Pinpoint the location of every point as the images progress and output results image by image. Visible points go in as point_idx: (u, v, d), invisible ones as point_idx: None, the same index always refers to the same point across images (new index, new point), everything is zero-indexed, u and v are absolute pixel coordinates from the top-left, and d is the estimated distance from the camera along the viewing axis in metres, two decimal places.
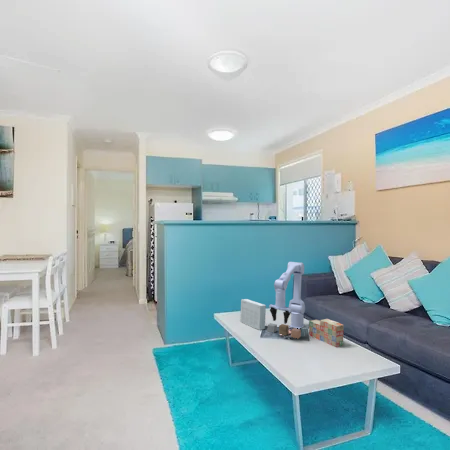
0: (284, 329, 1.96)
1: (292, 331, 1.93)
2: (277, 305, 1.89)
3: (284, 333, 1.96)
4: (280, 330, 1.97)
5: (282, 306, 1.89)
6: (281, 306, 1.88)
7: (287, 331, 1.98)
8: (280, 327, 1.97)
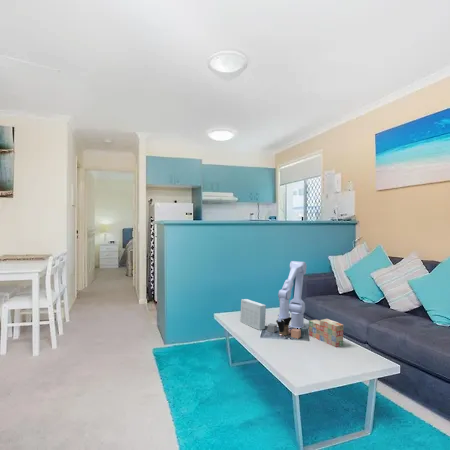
0: (284, 329, 1.96)
1: (292, 331, 1.93)
2: None
3: (284, 333, 1.96)
4: None
5: (280, 314, 1.97)
6: (279, 314, 1.98)
7: (287, 331, 1.98)
8: None
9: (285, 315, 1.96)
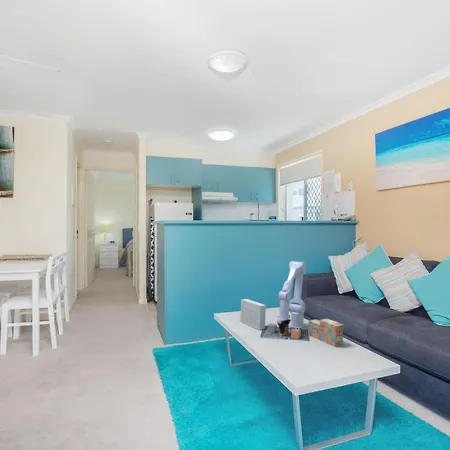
0: None
1: (292, 331, 1.93)
2: None
3: (284, 333, 1.96)
4: None
5: (280, 316, 1.97)
6: (279, 316, 1.98)
7: (287, 331, 1.98)
8: None
9: (285, 317, 1.96)
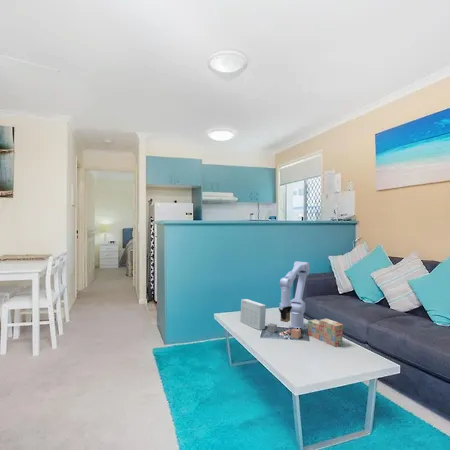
0: (286, 316, 1.97)
1: (292, 331, 1.93)
2: None
3: (286, 319, 1.98)
4: None
5: (281, 302, 1.99)
6: (281, 302, 2.00)
7: (288, 317, 1.99)
8: None
9: (287, 303, 1.97)
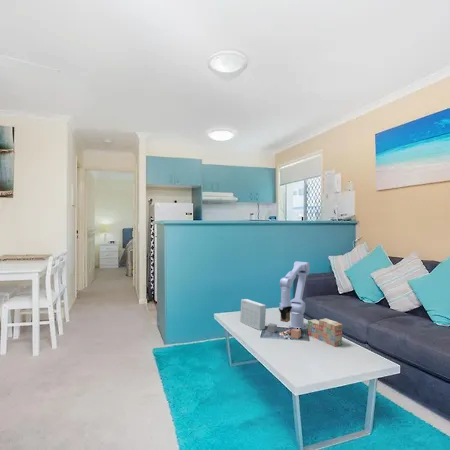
0: (286, 316, 1.97)
1: (292, 331, 1.93)
2: None
3: (286, 319, 1.98)
4: None
5: (281, 302, 1.99)
6: (281, 302, 2.00)
7: (288, 317, 1.99)
8: None
9: (287, 303, 1.97)
